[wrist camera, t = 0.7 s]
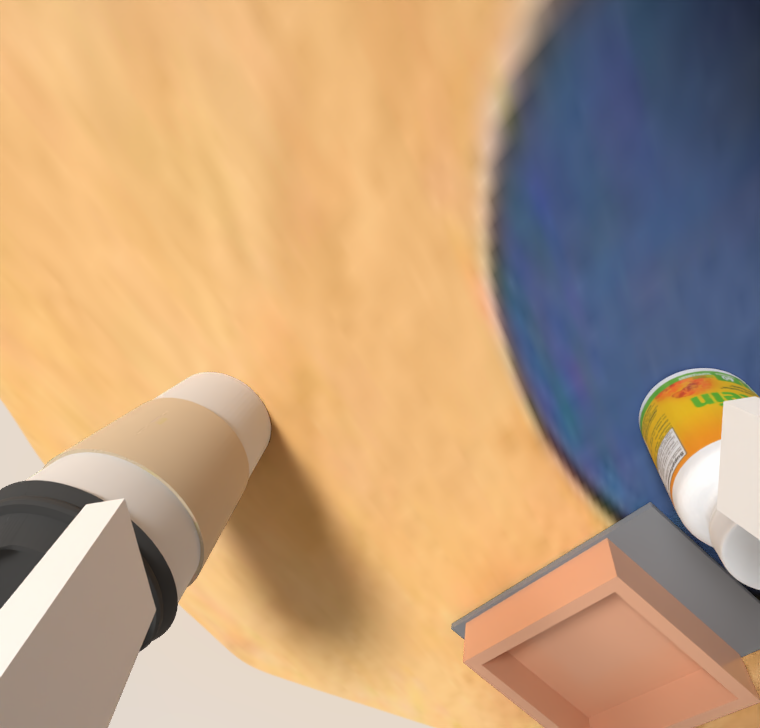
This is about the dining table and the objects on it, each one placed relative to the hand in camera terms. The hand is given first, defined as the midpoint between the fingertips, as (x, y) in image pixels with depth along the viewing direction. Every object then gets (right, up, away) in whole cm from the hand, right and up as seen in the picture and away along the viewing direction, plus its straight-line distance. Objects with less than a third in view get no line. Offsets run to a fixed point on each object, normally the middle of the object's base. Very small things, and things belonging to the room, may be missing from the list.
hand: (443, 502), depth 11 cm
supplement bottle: (+15, +1, +15) cm, 21 cm away
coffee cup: (-11, 0, +22) cm, 25 cm away
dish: (+12, -15, +22) cm, 29 cm away
